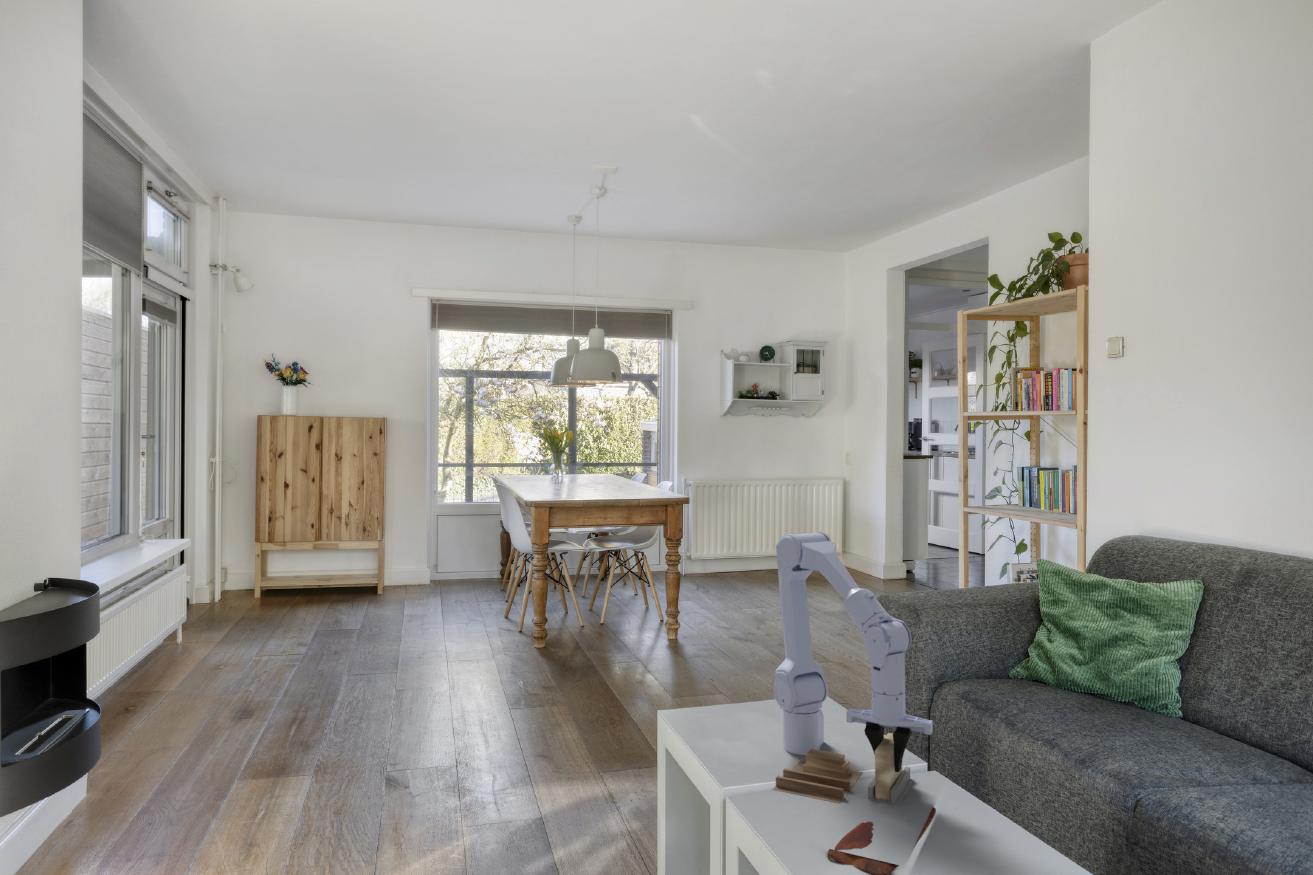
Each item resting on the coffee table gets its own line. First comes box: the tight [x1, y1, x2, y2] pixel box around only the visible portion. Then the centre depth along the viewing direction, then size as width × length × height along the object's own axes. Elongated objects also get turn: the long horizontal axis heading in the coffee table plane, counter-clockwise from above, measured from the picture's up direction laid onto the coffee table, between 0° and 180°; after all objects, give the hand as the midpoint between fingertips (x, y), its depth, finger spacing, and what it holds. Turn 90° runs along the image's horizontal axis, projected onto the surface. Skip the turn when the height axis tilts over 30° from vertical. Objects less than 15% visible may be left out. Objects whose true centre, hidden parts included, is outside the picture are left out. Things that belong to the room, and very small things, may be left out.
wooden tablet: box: [826, 806, 937, 875], centre depth 126 cm, size 27×10×2 cm, turn 144°
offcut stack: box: [803, 749, 852, 779], centre depth 148 cm, size 4×8×3 cm, turn 61°
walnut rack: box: [772, 760, 863, 804], centre depth 144 cm, size 15×12×2 cm
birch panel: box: [874, 732, 903, 801], centre depth 141 cm, size 2×10×8 cm, turn 151°
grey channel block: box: [863, 766, 915, 806], centre depth 141 cm, size 12×6×3 cm, turn 151°
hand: (889, 768), depth 141 cm, fingers closed on birch panel, 2 cm apart
